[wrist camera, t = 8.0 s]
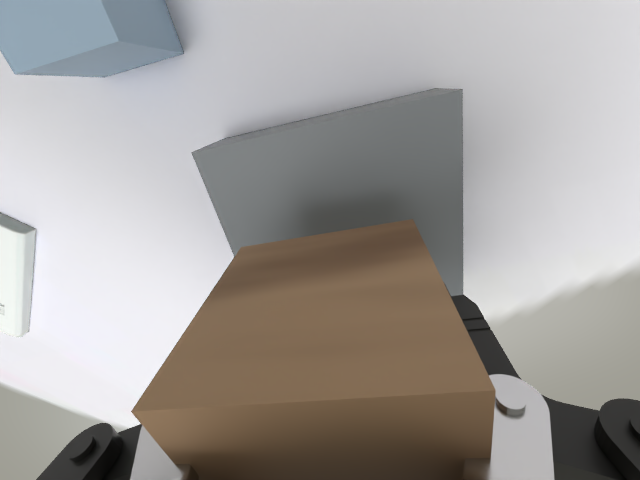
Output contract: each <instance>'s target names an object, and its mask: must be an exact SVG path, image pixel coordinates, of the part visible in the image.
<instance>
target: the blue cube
mask: <svg viewBox="0 0 640 480" xmlns="http://www.w3.org/2000/svg"><path fill="white" fill-rule="evenodd" d="M0 51H1V52H2V54H3V56H4V57H5V59H6V61H7V62H8V64H9V65H10V67H11V69H12V70H13V72H14V74H21V75H51V76H82V77H107V76H110V75H113V74H117V73H120V72H123V71H127V70H130V69H134V68H137V67H140V66H144V65H147V64H151V63H154V62H157V61H161V60H164V59H167V58H171V57H174V56H178V55H181V54H184V52H183V49H182V47H181V44H180V41H179V38H178V36H177V33H176V30H175V27H174V25H173V22H172V19H171V16H170V14H169V11H168V8H167V6H166V3H165V0H0Z"/></svg>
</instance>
